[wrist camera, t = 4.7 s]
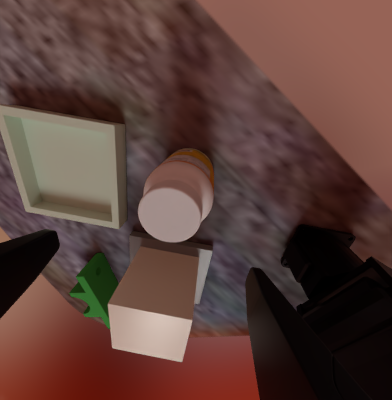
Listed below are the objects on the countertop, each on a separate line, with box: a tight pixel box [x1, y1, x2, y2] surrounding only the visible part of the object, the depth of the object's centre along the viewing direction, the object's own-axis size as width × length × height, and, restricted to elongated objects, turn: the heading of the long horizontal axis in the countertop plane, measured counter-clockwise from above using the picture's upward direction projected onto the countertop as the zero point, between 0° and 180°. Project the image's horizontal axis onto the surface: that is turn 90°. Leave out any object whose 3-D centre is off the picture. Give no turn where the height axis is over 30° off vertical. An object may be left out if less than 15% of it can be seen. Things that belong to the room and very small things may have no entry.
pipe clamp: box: [69, 253, 119, 329], centre depth 27 cm, size 11×4×5 cm, turn 10°
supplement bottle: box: [138, 148, 214, 242], centre depth 15 cm, size 5×5×10 cm
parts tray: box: [0, 104, 127, 229], centre depth 20 cm, size 12×12×2 cm
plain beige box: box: [108, 231, 213, 362], centre depth 22 cm, size 11×11×9 cm
